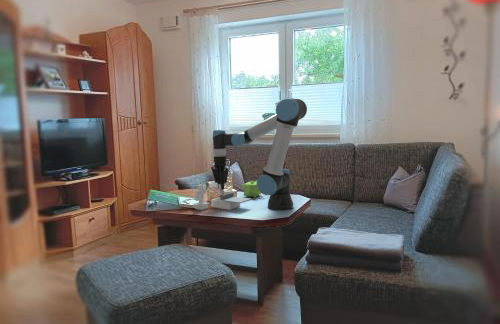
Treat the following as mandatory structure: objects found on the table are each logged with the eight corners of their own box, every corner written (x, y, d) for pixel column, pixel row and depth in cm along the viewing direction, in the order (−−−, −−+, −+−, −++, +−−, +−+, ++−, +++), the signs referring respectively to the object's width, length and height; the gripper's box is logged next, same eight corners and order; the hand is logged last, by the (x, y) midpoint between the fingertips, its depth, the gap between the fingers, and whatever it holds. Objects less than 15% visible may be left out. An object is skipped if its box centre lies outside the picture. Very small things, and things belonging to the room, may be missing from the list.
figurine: (191, 210, 213) (190, 185, 211) (201, 207, 221) (200, 182, 219) (201, 212, 210) (200, 186, 208) (211, 208, 218) (210, 183, 216)
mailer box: (240, 207, 219) (239, 198, 219) (229, 210, 211) (229, 202, 211) (222, 204, 227) (221, 196, 227) (211, 207, 219) (211, 199, 219)
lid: (251, 199, 215) (251, 194, 214) (240, 203, 206) (240, 198, 205) (231, 197, 223) (231, 192, 222) (220, 200, 214) (220, 195, 214)
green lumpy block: (257, 193, 259) (256, 178, 257) (267, 196, 247) (266, 181, 246) (238, 196, 251) (237, 180, 250) (247, 199, 240) (247, 183, 238)
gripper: (232, 155, 217) (233, 194, 220) (215, 154, 224) (217, 192, 227) (224, 156, 211) (225, 196, 214) (207, 155, 218) (209, 194, 221)
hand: (221, 194), depth 220 cm, fingers closed
